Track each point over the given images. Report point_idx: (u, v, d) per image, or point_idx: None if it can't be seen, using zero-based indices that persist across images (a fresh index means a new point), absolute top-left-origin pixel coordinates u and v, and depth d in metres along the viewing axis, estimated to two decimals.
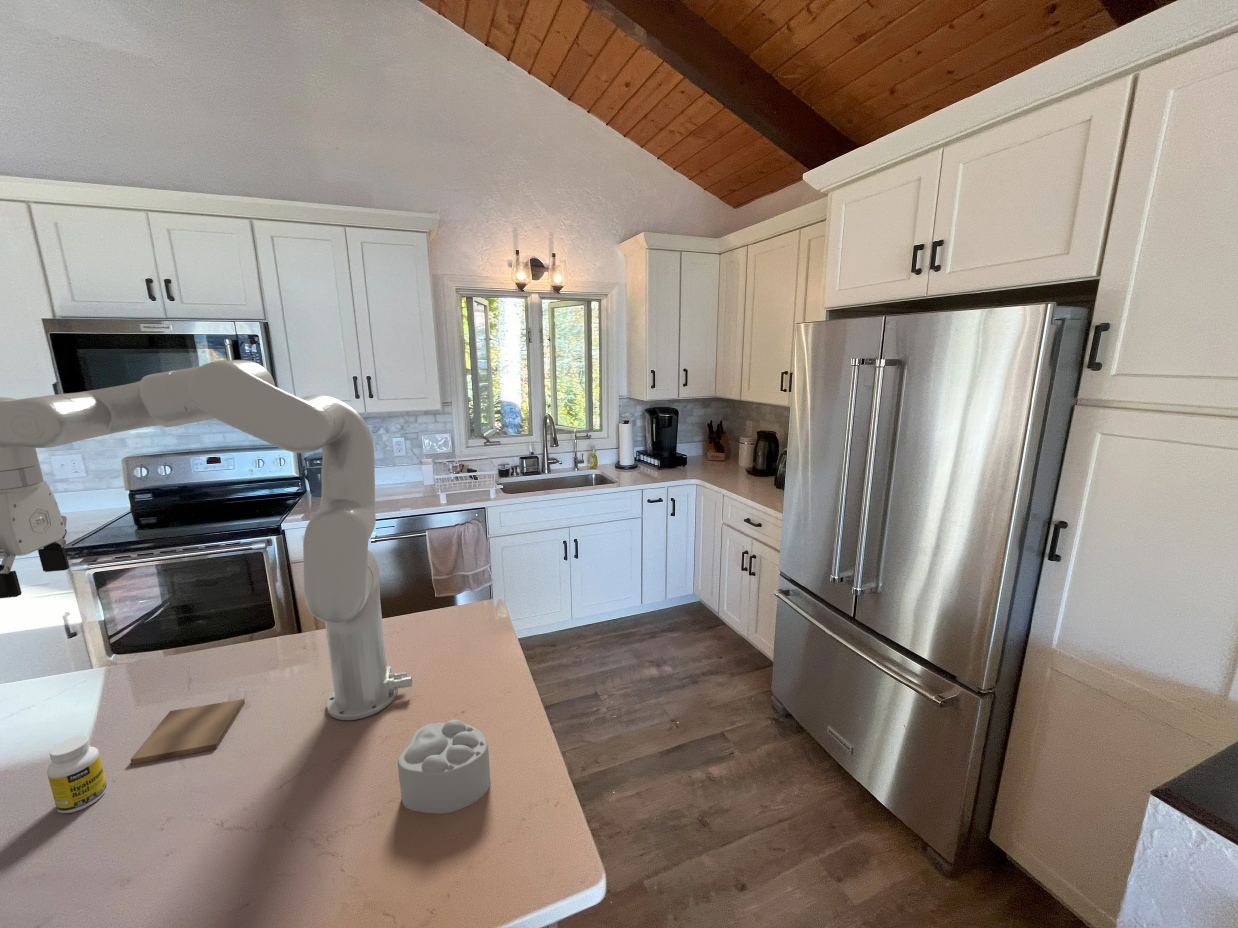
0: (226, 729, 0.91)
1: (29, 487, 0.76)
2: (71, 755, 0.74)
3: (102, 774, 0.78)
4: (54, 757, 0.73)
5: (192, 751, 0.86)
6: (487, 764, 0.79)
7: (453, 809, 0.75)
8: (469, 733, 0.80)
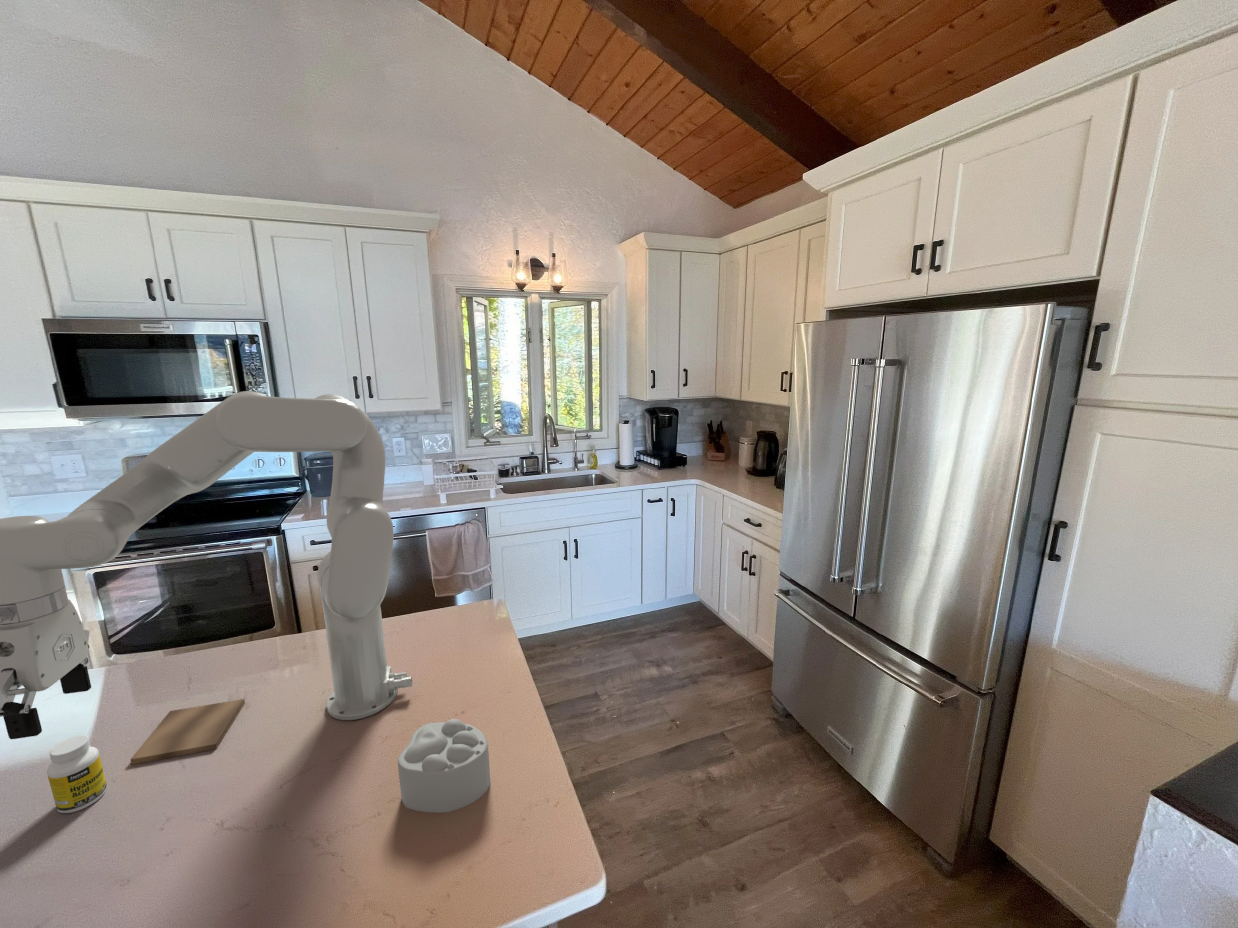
0: (226, 729, 0.91)
1: (54, 614, 0.70)
2: (71, 755, 0.74)
3: (102, 774, 0.78)
4: (54, 757, 0.73)
5: (192, 751, 0.86)
6: (487, 763, 0.79)
7: (453, 808, 0.76)
8: (469, 732, 0.80)
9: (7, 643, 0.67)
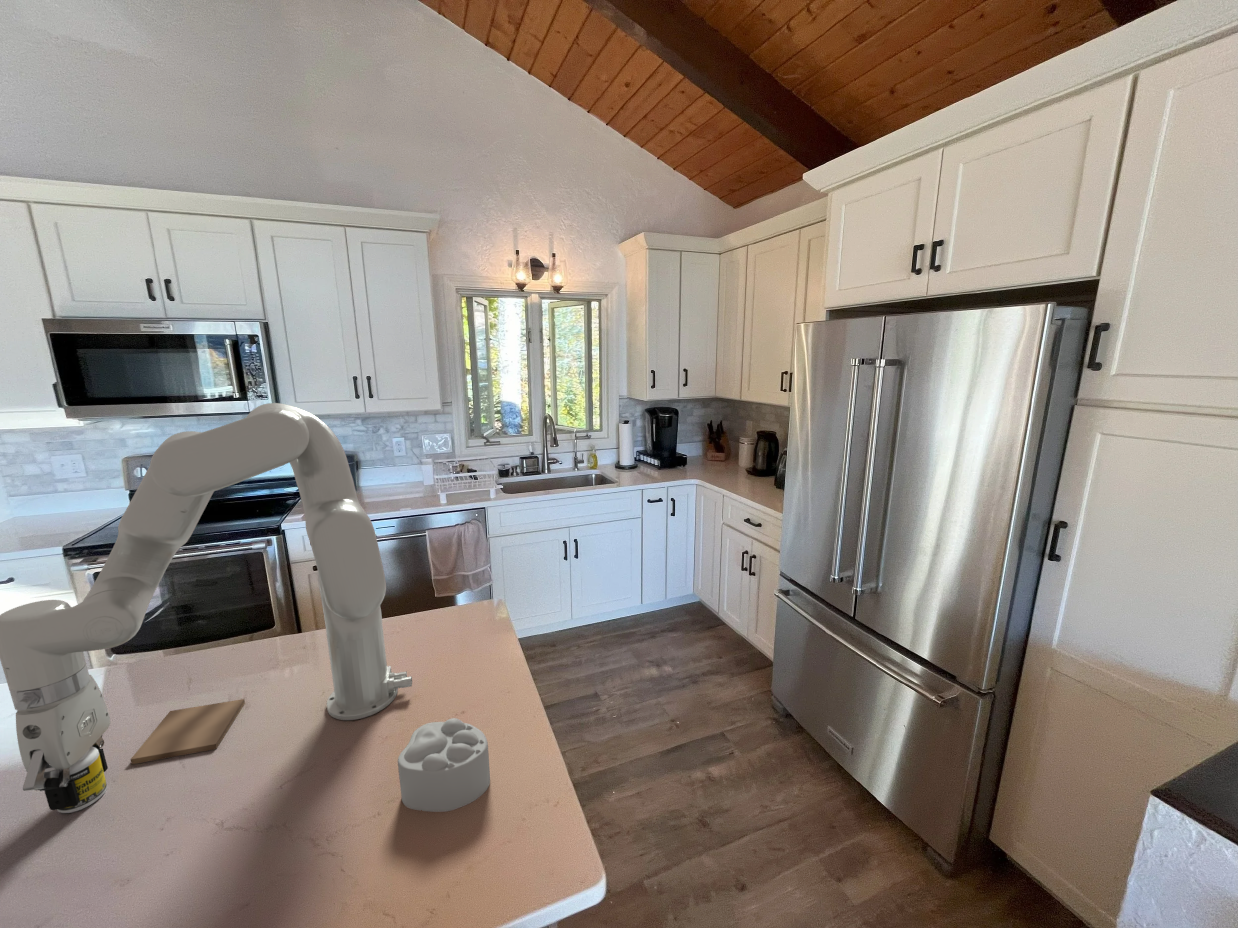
0: (226, 729, 0.91)
1: (77, 693, 0.73)
2: None
3: (102, 774, 0.78)
4: None
5: (192, 751, 0.86)
6: (487, 762, 0.79)
7: (453, 807, 0.76)
8: (469, 731, 0.80)
9: (34, 725, 0.70)
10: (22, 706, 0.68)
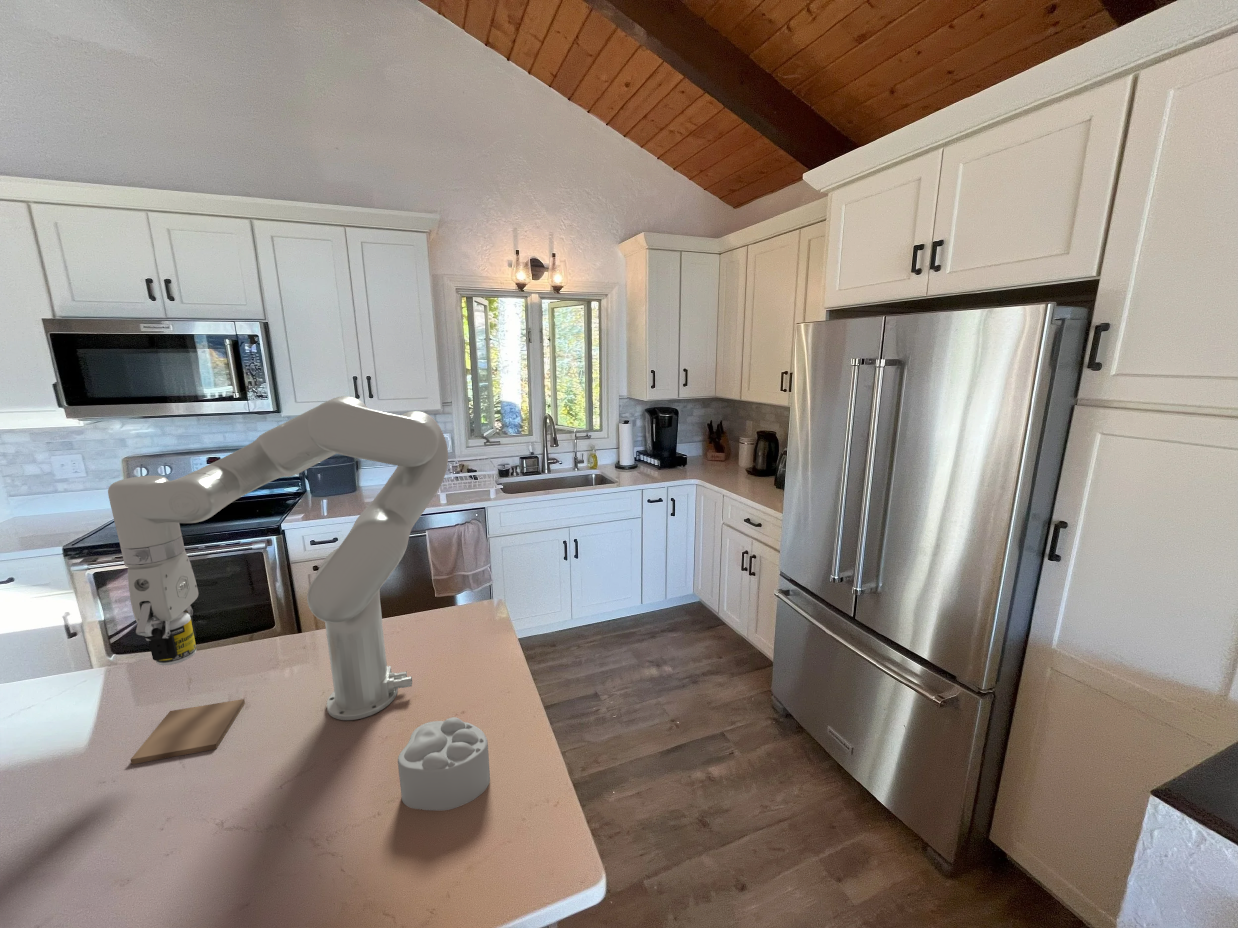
0: (226, 729, 0.91)
1: (176, 557, 0.83)
2: None
3: (193, 636, 0.88)
4: None
5: (192, 751, 0.86)
6: (487, 761, 0.79)
7: (454, 806, 0.76)
8: (469, 730, 0.80)
9: (143, 580, 0.80)
10: (135, 560, 0.78)
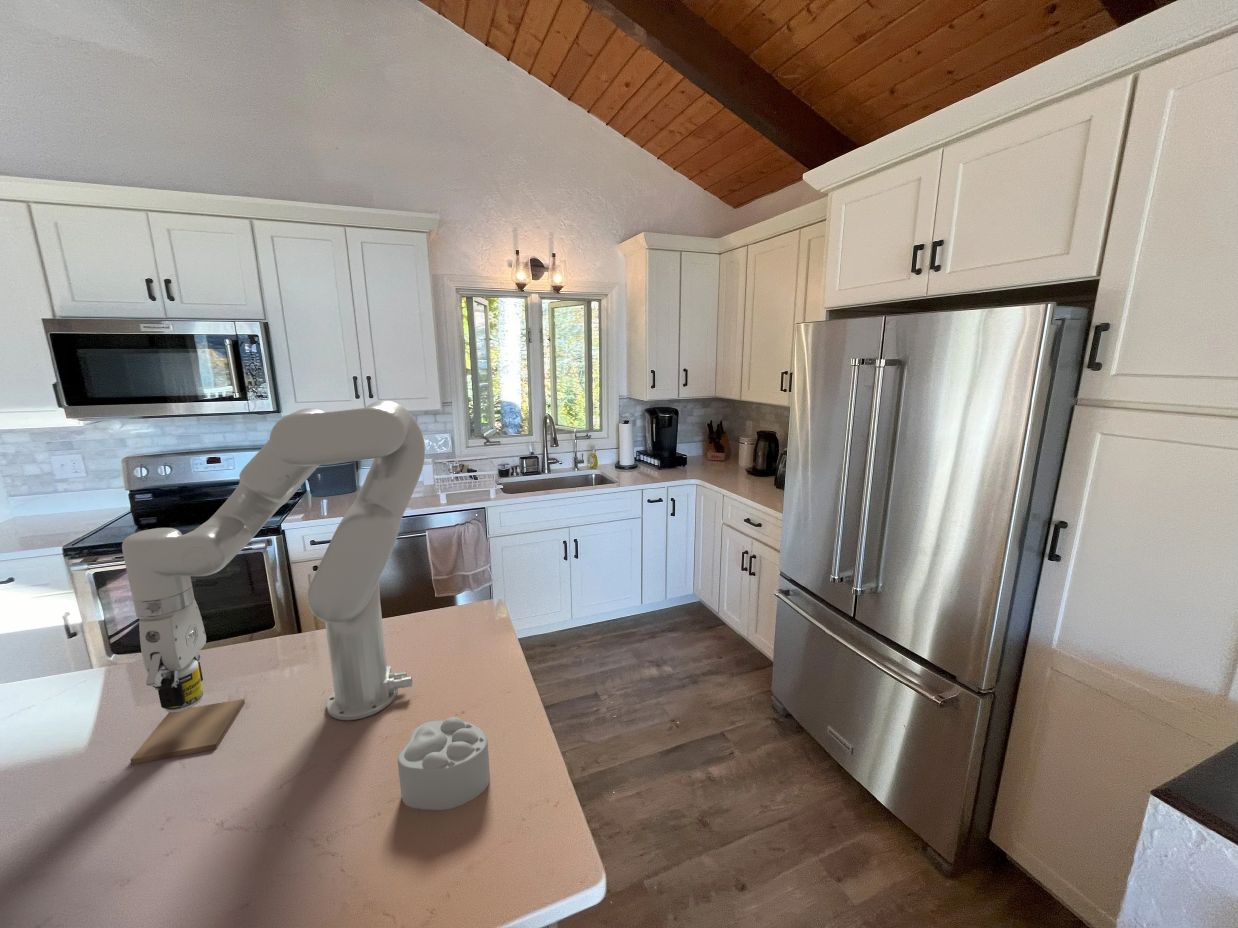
0: (226, 729, 0.91)
1: (186, 608, 0.85)
2: None
3: (200, 682, 0.90)
4: None
5: (192, 751, 0.86)
6: (487, 760, 0.80)
7: (454, 805, 0.76)
8: (468, 730, 0.80)
9: (153, 632, 0.82)
10: (147, 613, 0.80)
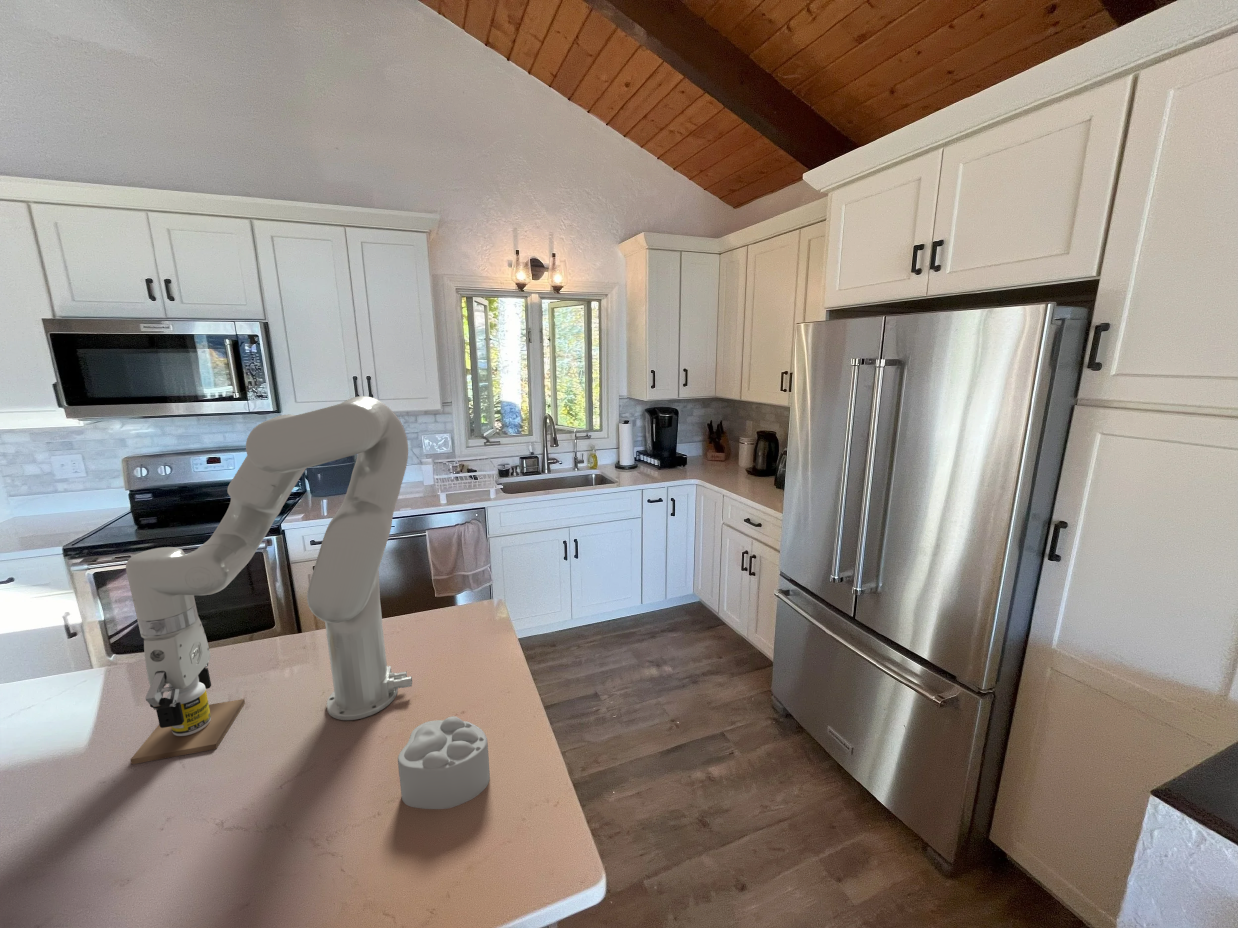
0: (226, 729, 0.91)
1: (190, 626, 0.86)
2: None
3: (208, 705, 0.91)
4: None
5: (192, 751, 0.86)
6: (487, 759, 0.80)
7: (454, 804, 0.76)
8: (468, 729, 0.80)
9: (158, 651, 0.83)
10: (151, 633, 0.81)
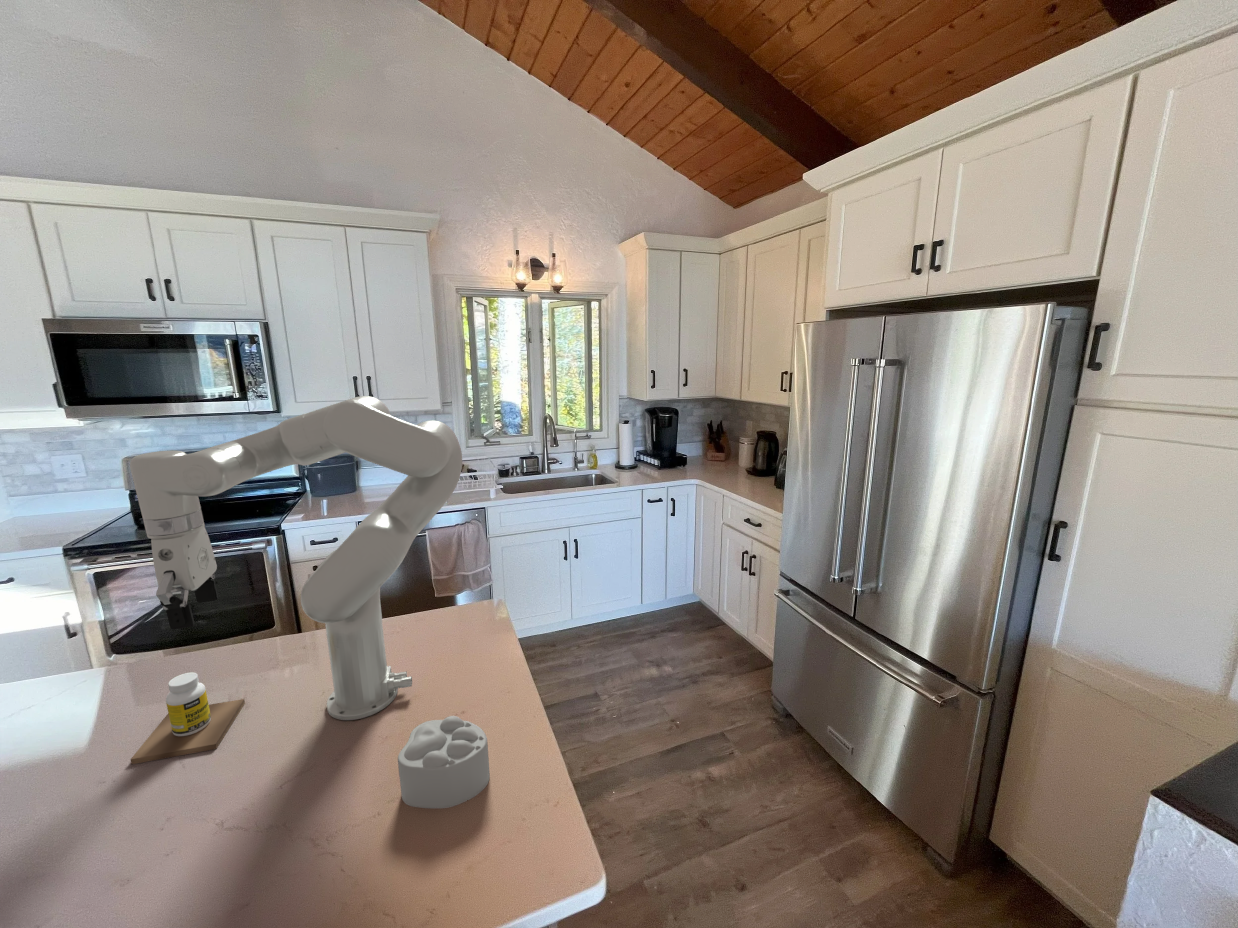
0: (226, 729, 0.91)
1: (197, 529, 0.86)
2: (186, 686, 0.88)
3: (208, 705, 0.91)
4: (173, 688, 0.87)
5: (192, 751, 0.86)
6: (487, 758, 0.80)
7: (454, 803, 0.76)
8: (468, 728, 0.81)
9: (166, 551, 0.83)
10: (159, 530, 0.81)
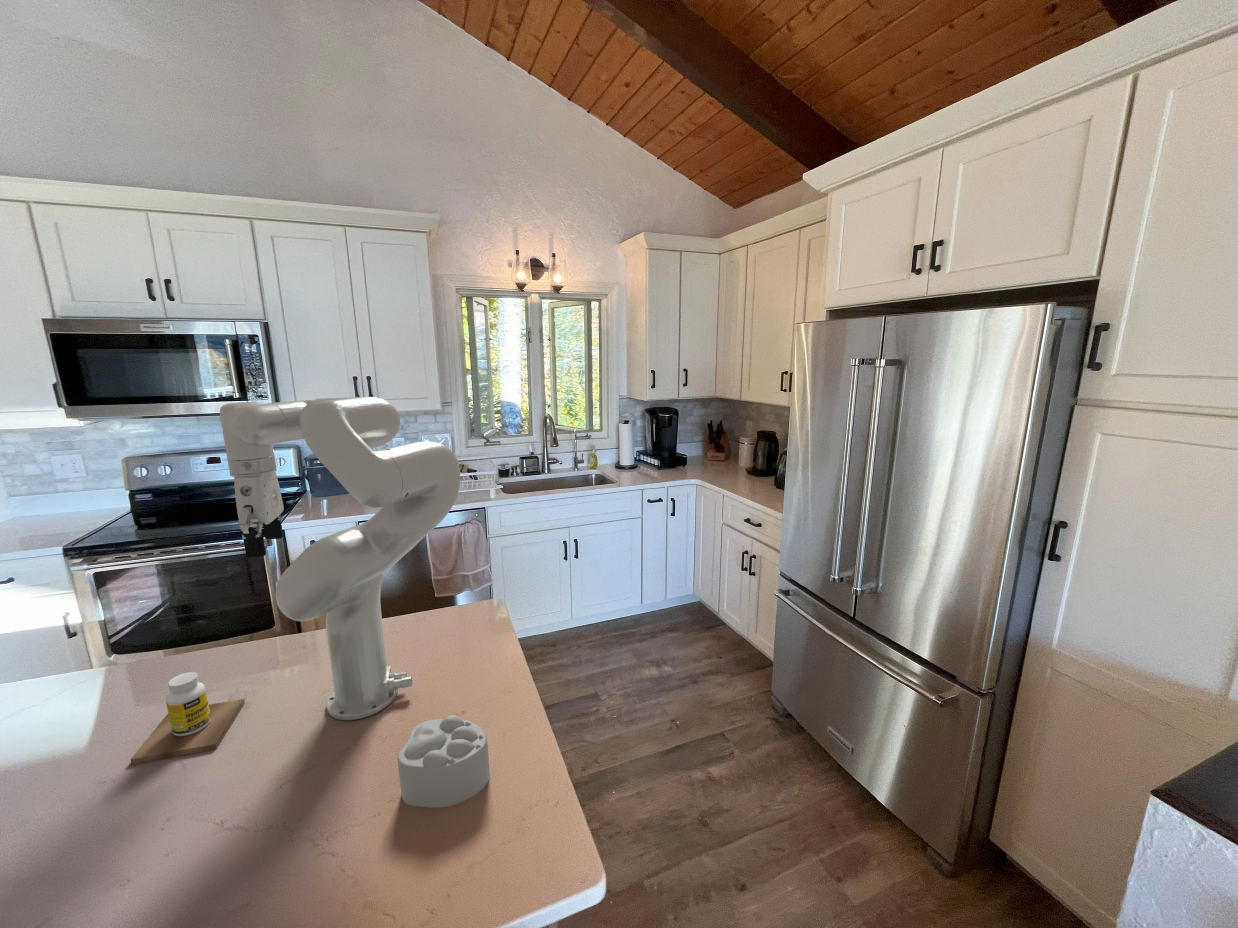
0: (226, 729, 0.91)
1: (271, 471, 0.99)
2: (186, 686, 0.88)
3: (208, 705, 0.91)
4: (173, 687, 0.87)
5: (192, 751, 0.86)
6: (487, 757, 0.80)
7: (455, 802, 0.77)
8: (468, 727, 0.81)
9: (246, 488, 0.96)
10: (242, 469, 0.94)
